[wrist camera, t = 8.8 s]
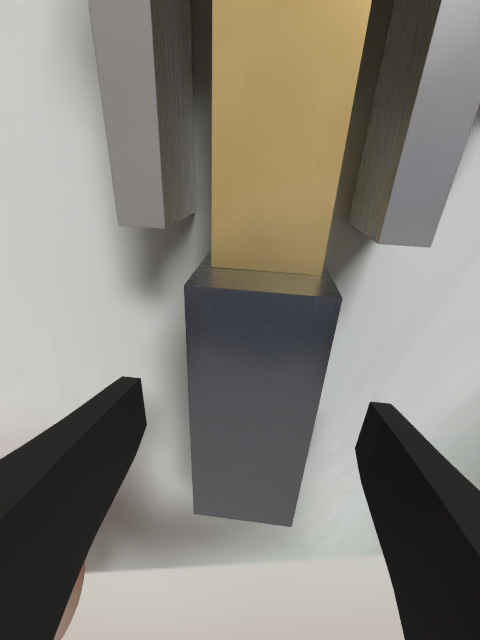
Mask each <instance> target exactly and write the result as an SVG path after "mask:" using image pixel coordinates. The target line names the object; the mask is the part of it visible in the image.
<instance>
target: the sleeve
mask: <svg viewBox="0 0 480 640" xmlns="http://www.w3.org/2000/svg"><path fill="white" fill-rule="evenodd" d="M88 2H89V10H90V17H91V24H92V32H93V39H94V47H95V54H96V61H97V69H98V76H99V84H100V91H101V99H102V106H103V113H104V121H105V128H106V136H107V143H108V150H109V158H110V165H111V173H112V180H113V188H114V195H115V202H116V210H117V217H118V225H119V226H131V227H145V228H159V229H166V228H168V227H169V226H171V225H173V224H175V223H177V222H178V221H180V220H182V219H184V218H186V217H188V216H189V215H191V214H193V213H195V184H194V134H193V84H192V34H191V0H88ZM479 104H480V0H394V4H393V9H392V14H391V18H390V23H389V28H388V33H387V38H386V43H385V47H384V52H383V57H382V62H381V67H380V71H379V76H378V81H377V86H376V91H375V95H374V100H373V105H372V110H371V115H370V119H369V124H368V129H367V134H366V139H365V143H364V148H363V153H362V158H361V163H360V168H359V172H358V177H357V182H356V187H355V192H354V196H353V201H352V206H351V211H350V216H349V220H348V223H350V224H351V225H352V226H354V227H355V228H357V229H358V230H359V231H361V232H362V233H364V234H365V235H366V236H368V237H369V238H371V239H372V240H373V241H375V242H376V243H378V244H388V245H402V246H417V247H431V244H432V241H433V238H434V235H435V232H436V230H437V227H438V224H439V221H440V218H441V215H442V212H443V209H444V206H445V203H446V200H447V198H448V195H449V192H450V189H451V186H452V183H453V180H454V177H455V174H456V171H457V168H458V166H459V163H460V160H461V157H462V154H463V151H464V148H465V145H466V142H467V139H468V136H469V133H470V131H471V128H472V125H473V122H474V119H475V116H476V113H477V110H478V107H479Z"/></svg>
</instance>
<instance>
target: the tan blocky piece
mask: <svg viewBox="0 0 480 640" xmlns="http://www.w3.org/2000/svg"><path fill="white" fill-rule="evenodd" d="M371 2H372V0H212V206H211V267H218V268H231V269H243V270H256V271H269V272H282V273H295V274H308V275H320V276H322V270H323V265H324V259H325V254H326V248H327V243H328V238H329V232H330V227H331V221H332V216H333V210H334V205H335V199H336V194H337V188H338V183H339V177H340V172H341V166H342V161H343V155H344V150H345V145H346V139H347V134H348V128H349V123H350V117H351V112H352V106H353V101H354V95H355V90H356V84H357V79H358V73H359V68H360V63H361V57H362V52H363V46H364V41H365V35H366V30H367V24H368V19H369V13H370V8H371Z"/></svg>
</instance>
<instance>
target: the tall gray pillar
mask: <svg viewBox="0 0 480 640" xmlns="http://www.w3.org/2000/svg"><path fill="white" fill-rule="evenodd" d="M184 296H185V320H186V343H187V366H188V390H189V413H190V436H191V460H192V483H193V506H194V514H200V515H207V516H214V517H222V518H229V519H237V520H244V521H251V522H259V523H266V524H273V525H281V526H288V527H292V522H293V518H294V513H295V509H296V504H297V500H298V495H299V491H300V486H301V482H302V477H303V473H304V468H305V464H306V459H307V455H308V450H309V446H310V441H311V437H312V432H313V428H314V424H315V419H316V415H317V410H318V406H319V401H320V397H321V392H322V388H323V383H324V379H325V374H326V370H327V365H328V361H329V356H330V352H331V347H332V343H333V338H334V334H335V329H336V325H337V320H338V316H339V311H340V307H341V302H342V296H341V295H340V293H339V291H338V289H337V287H336V285H335V283H334V281H333V279H332V278H331V276H330V274H329V272H328V270H327V268H326V266H325V264H324V265H323V270H322V276H320V275H308V274H295V273H282V272H269V271H256V270H243V269H231V268H218V267H211V251H210V252H209V254H208V255H207V256H206V258H205V259H204V260H203V261H202V263H201V264H200V265H199V267H198V268H197V269H196V271H195V272H194V273H193V274H192V276H191V277H190V278H189V280H188V281H187V282H186V283H185V285H184Z"/></svg>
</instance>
